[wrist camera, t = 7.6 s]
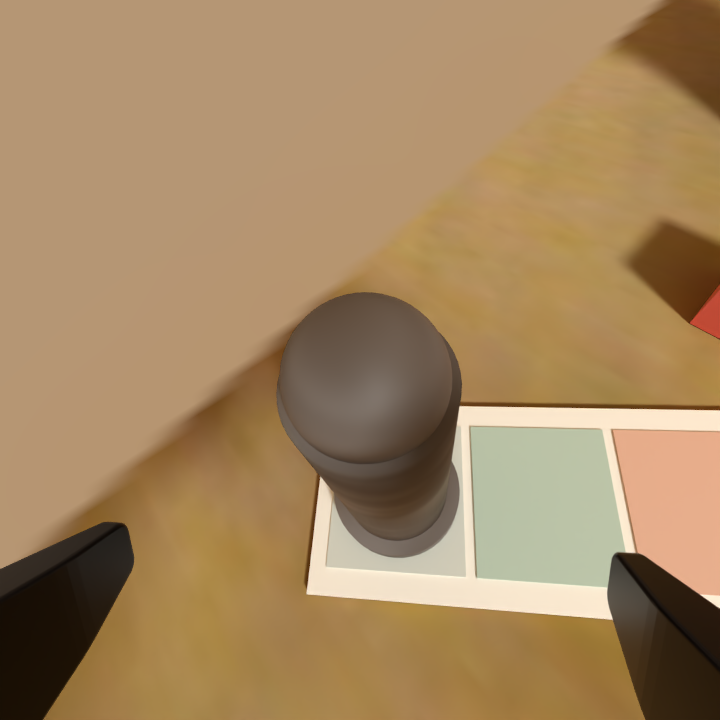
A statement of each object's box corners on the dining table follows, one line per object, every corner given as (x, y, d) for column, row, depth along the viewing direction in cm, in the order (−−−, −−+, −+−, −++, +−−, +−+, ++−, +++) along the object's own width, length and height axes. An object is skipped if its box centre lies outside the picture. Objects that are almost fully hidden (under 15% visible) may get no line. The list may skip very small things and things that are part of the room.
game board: (309, 594, 18) (306, 593, 17) (330, 407, 22) (328, 403, 21) (1057, 656, 14) (1076, 658, 14) (923, 417, 18) (936, 412, 18)
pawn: (370, 582, 17) (271, 534, 6) (320, 468, 20) (187, 295, 9) (482, 520, 18) (564, 381, 7) (420, 416, 20) (409, 195, 9)
